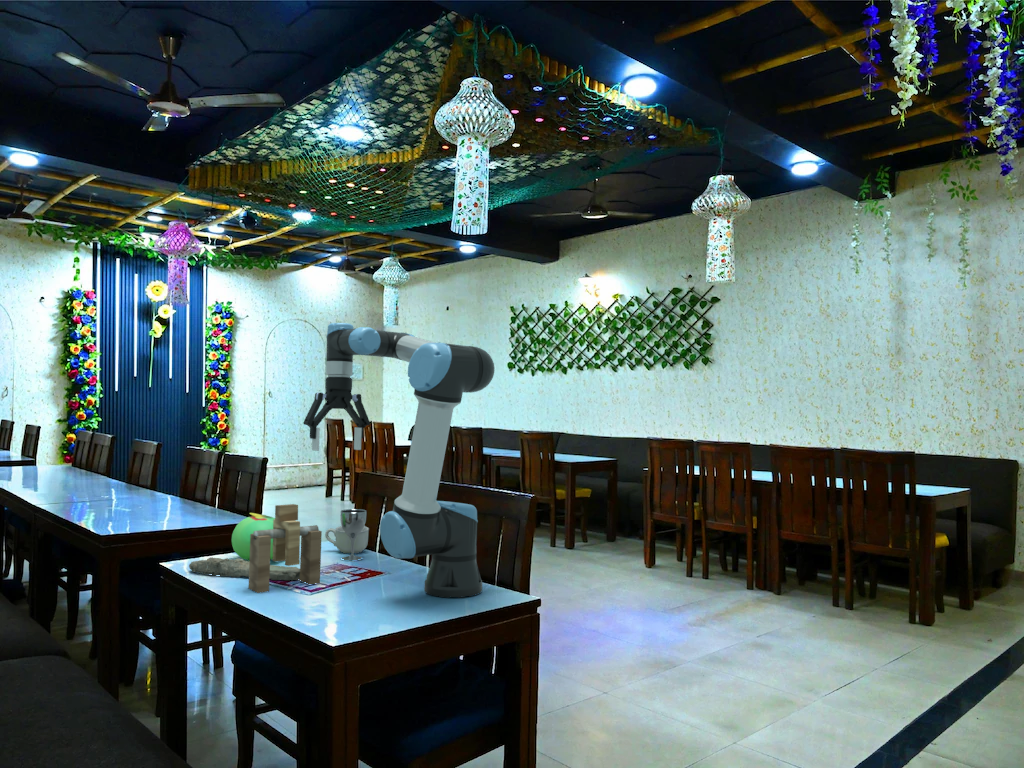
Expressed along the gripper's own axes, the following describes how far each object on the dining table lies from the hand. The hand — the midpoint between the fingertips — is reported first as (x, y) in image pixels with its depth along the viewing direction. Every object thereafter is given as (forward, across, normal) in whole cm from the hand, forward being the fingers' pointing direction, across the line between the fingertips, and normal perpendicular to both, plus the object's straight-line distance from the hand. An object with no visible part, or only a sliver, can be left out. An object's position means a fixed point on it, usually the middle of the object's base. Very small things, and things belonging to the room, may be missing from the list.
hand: (336, 450), depth 207 cm
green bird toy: (+35, +9, -28) cm, 46 cm away
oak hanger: (+29, +18, +6) cm, 34 cm away
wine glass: (+35, -14, -14) cm, 40 cm away
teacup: (+35, -19, -24) cm, 47 cm away
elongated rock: (+36, +20, -12) cm, 43 cm away
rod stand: (+35, +18, +6) cm, 40 cm away
